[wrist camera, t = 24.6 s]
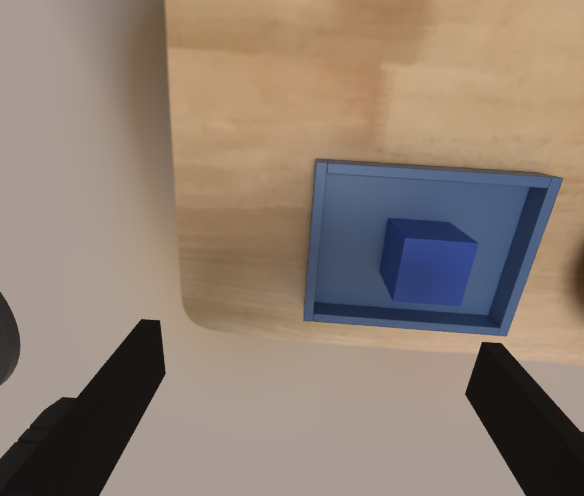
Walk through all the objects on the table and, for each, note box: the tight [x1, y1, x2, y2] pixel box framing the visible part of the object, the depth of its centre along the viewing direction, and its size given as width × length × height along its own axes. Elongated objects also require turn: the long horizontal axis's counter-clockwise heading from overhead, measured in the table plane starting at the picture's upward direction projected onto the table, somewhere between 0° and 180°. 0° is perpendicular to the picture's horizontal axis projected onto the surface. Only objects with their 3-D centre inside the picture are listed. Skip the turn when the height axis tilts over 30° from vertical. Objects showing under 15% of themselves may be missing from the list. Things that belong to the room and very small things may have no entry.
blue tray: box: [304, 159, 563, 336], centre depth 27 cm, size 18×14×3 cm
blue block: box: [379, 218, 479, 306], centre depth 25 cm, size 5×5×5 cm
